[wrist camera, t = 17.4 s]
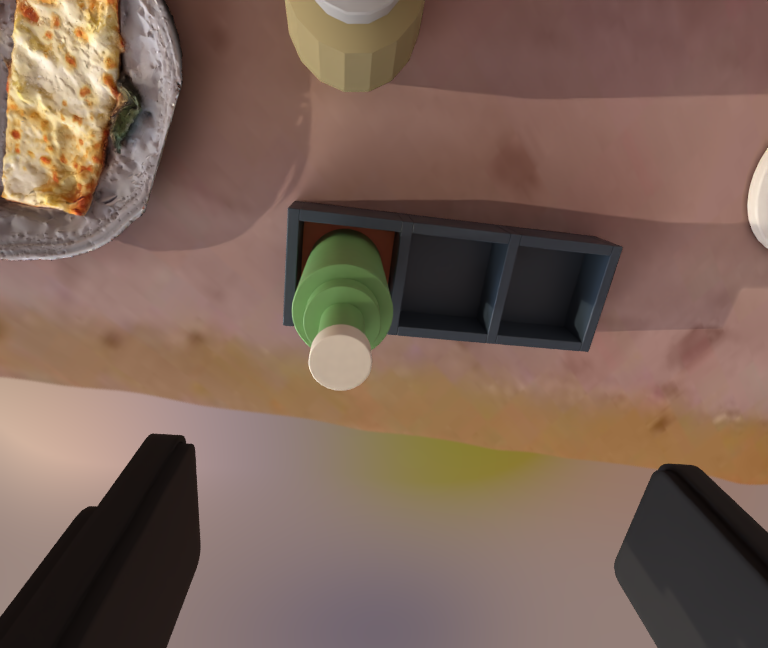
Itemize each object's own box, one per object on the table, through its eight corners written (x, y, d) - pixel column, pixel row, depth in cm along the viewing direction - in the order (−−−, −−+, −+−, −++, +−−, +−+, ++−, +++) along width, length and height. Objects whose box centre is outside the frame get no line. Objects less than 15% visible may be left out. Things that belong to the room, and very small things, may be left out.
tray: (595, 236, 37) (623, 246, 33) (566, 332, 40) (588, 352, 36) (294, 200, 34) (287, 207, 30) (289, 307, 37) (282, 325, 33)
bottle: (385, 232, 34) (414, 308, 19) (376, 302, 37) (396, 422, 21) (311, 224, 34) (275, 295, 18) (306, 295, 36) (271, 414, 20)
